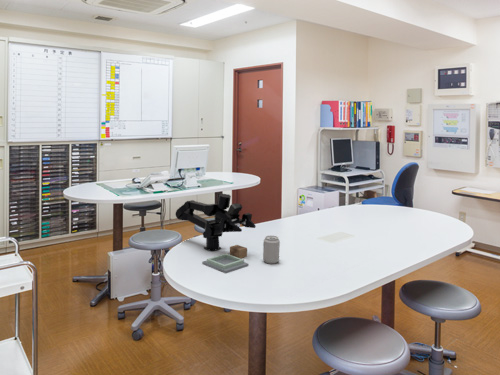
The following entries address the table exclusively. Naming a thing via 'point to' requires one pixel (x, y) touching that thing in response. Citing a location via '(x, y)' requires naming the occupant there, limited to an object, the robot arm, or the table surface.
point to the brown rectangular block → (238, 251)
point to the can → (271, 249)
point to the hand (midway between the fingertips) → (248, 228)
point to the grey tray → (225, 263)
